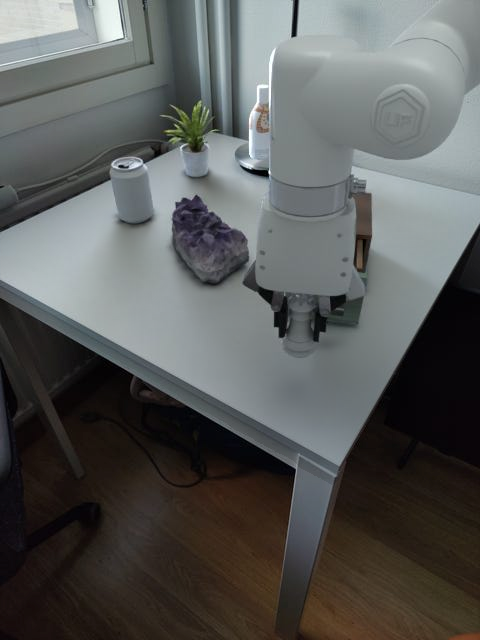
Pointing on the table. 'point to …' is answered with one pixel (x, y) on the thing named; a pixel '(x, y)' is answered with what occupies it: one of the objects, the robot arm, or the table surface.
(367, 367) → the table surface
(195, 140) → the house plant
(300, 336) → the rook chess piece
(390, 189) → the table surface
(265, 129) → the cosmetic set
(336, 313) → the drawer
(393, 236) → the table surface
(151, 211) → the can
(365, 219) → the cabinet
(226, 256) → the geode
